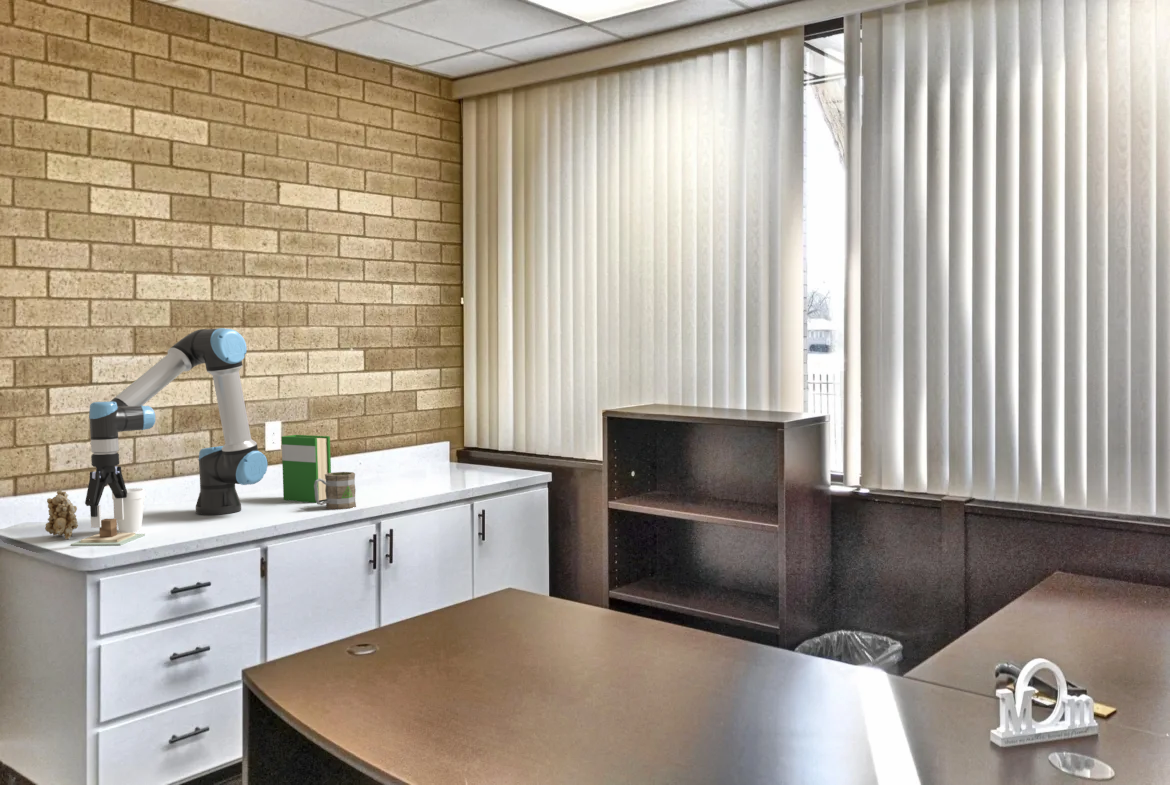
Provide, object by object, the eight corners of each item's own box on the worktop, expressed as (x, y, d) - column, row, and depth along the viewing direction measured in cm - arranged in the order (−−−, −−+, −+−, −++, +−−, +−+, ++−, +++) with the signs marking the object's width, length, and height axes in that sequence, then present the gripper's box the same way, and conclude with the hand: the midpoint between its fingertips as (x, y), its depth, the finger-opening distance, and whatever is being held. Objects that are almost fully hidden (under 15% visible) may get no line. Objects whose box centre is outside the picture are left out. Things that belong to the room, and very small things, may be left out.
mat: (145, 535, 305) (145, 533, 305) (120, 545, 290) (120, 543, 290) (97, 535, 306) (97, 534, 306) (70, 545, 291) (70, 544, 291)
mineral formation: (68, 533, 311) (66, 486, 310) (87, 538, 302) (85, 489, 302) (41, 537, 305) (39, 489, 304) (59, 542, 296) (57, 493, 295)
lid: (135, 535, 303) (134, 516, 303) (117, 542, 292) (116, 523, 292) (100, 535, 304) (99, 516, 303) (80, 542, 293) (80, 523, 292)
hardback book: (331, 500, 369) (329, 436, 368) (317, 503, 363) (315, 438, 361) (298, 497, 378) (296, 434, 377) (283, 499, 372) (281, 436, 370)
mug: (345, 503, 360) (344, 471, 359) (362, 506, 353) (361, 473, 352) (307, 509, 349) (306, 475, 348) (323, 512, 341) (322, 478, 341)
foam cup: (133, 534, 307) (131, 492, 307) (107, 533, 309) (105, 492, 308) (152, 528, 317) (151, 488, 316) (127, 527, 318) (125, 488, 318)
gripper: (113, 448, 309) (116, 516, 310) (69, 457, 284) (73, 531, 285) (137, 448, 309) (140, 516, 310) (95, 457, 284) (98, 530, 285)
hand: (107, 523), depth 298 cm, fingers open, 12 cm apart
